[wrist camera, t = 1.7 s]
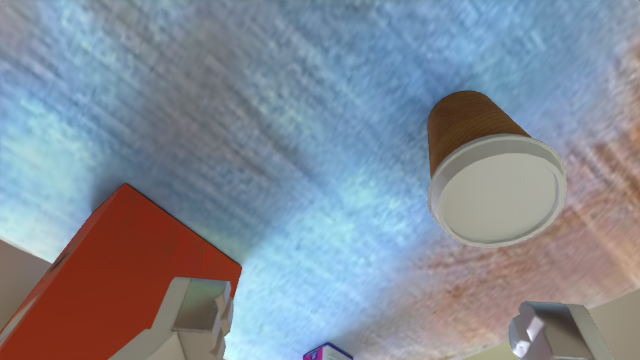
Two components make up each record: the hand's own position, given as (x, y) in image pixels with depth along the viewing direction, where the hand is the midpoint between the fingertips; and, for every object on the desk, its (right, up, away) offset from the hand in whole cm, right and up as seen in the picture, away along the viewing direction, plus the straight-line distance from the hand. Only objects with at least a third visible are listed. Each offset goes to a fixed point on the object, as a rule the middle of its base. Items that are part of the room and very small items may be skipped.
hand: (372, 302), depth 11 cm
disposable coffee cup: (+12, +9, +26) cm, 30 cm away
